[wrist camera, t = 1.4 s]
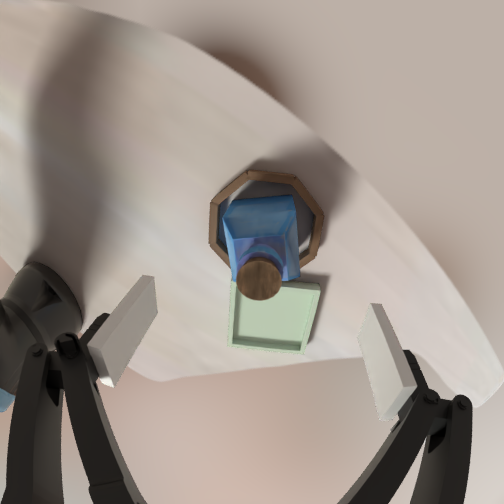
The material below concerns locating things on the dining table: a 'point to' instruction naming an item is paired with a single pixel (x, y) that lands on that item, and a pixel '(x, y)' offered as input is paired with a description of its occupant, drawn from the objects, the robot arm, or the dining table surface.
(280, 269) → the perfume bottle
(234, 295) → the tray
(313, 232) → the ring
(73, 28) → the dining table surface
